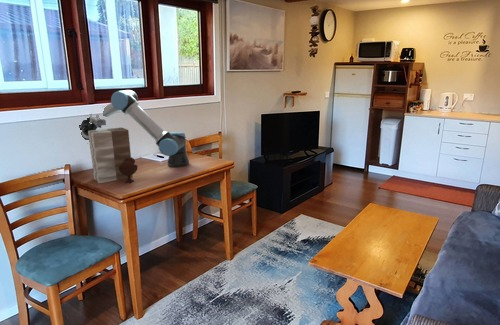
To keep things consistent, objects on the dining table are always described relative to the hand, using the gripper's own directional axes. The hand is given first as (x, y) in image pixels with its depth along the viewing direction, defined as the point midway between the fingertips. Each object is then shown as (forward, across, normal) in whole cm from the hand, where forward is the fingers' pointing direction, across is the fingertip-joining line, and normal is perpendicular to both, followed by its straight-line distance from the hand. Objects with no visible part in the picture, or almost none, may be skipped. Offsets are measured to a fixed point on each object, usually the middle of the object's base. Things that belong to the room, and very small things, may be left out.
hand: (94, 116), depth 207 cm
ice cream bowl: (-1, -10, -44) cm, 45 cm away
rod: (0, 0, -5) cm, 5 cm away
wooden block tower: (-13, -5, -37) cm, 39 cm away
